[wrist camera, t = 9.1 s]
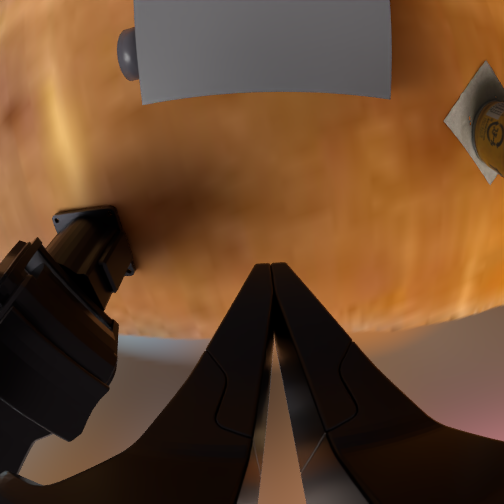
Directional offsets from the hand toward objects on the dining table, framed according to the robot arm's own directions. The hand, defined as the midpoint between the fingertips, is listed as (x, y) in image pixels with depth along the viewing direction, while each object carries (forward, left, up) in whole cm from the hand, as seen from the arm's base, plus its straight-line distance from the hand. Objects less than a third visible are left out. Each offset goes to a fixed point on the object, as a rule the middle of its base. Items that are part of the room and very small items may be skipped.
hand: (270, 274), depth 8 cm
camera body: (+1, +8, -12) cm, 15 cm away
